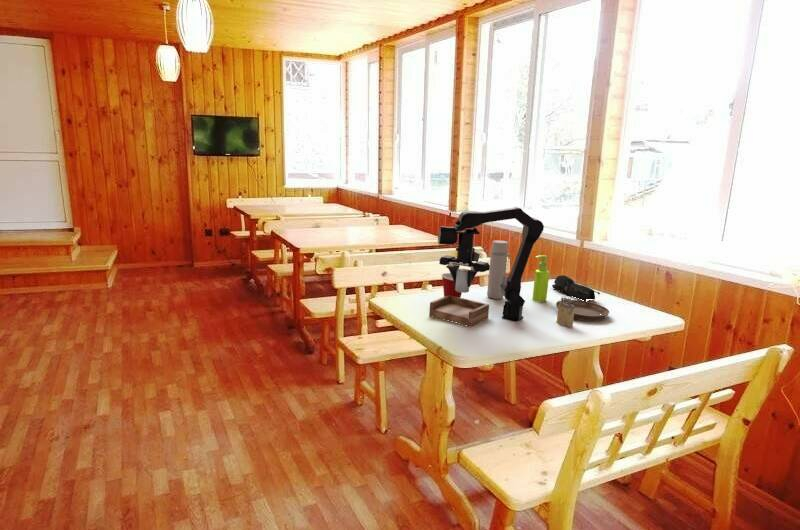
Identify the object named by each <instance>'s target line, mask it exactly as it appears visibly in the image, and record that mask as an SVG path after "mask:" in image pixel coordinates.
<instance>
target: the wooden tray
mask: <svg viewBox="0 0 800 530" xmlns="http://www.w3.org/2000/svg"><path fill="white" fill-rule="evenodd" d="M489 311H490V304H489V303H484V302H481V301H475V300H471V299H468V298H464V297H460V298H459V297H455V296H451V295H448V296H445V297H444V296H443V297H440V298H437V299H435V300H433V301H430V302H429V314H428V316H429V317H431V316H433V317H432V318H435V317H437V318H436V319H439V318H440V319H439V320H442V319H445V320H444V321H446V320H449V321H448V322H450V321H453V322H452V323H454V322H457V323H456V324H458V323H460V324H459V325H461V324H463V325H462V326H465V325H467V326H466V327H469V326H470V328H471V326H472V327H474V326H475V324H476V325H478V324H479V322H480V323H481V321H482V322H483V321H485V320H488V319H489V313H490V312H489ZM473 325H474V326H473Z"/></svg>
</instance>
